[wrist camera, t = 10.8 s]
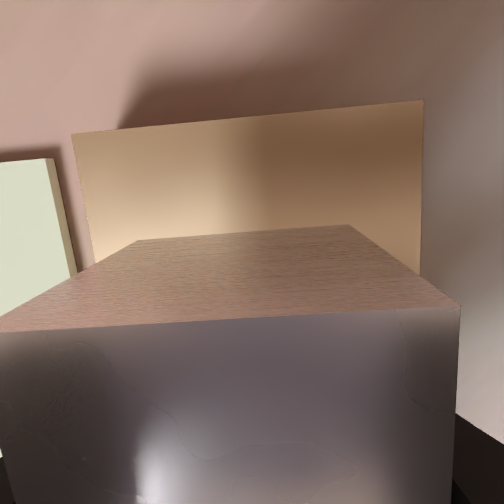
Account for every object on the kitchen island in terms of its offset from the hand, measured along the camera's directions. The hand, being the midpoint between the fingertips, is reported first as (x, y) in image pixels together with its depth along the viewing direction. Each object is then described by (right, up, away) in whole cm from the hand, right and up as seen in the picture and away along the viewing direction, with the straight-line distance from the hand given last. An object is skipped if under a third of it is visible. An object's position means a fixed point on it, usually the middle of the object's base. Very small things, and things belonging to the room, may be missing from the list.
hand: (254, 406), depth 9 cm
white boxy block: (0, 0, +1) cm, 1 cm away
